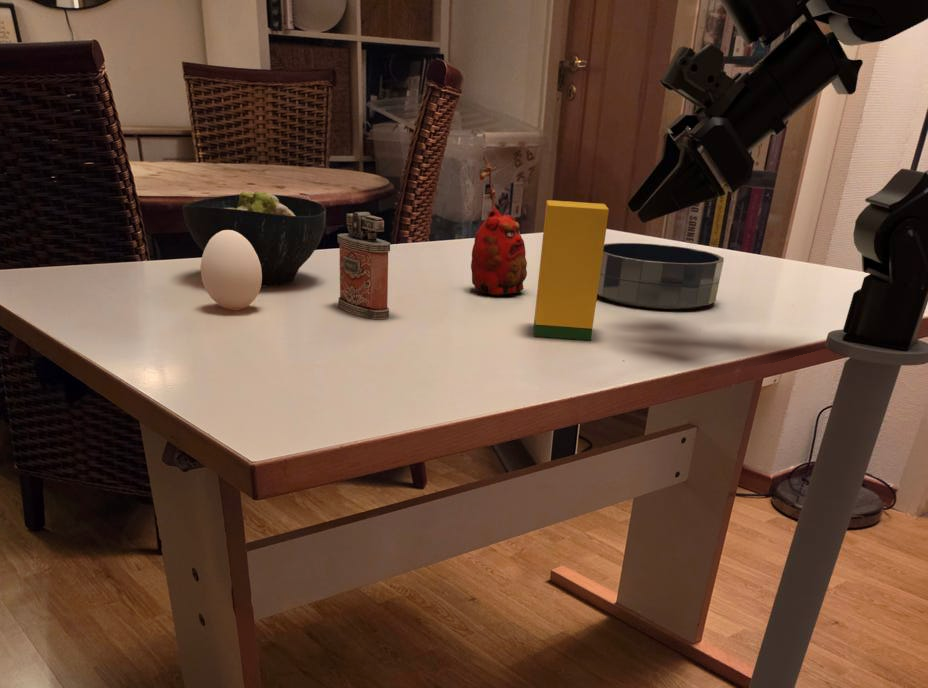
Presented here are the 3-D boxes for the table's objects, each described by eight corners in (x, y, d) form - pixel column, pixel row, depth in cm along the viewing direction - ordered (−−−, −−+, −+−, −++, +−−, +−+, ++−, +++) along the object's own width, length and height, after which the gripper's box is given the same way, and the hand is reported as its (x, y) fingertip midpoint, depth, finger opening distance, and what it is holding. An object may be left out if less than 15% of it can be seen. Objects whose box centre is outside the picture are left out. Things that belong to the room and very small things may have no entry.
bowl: (164, 285, 103) (153, 192, 98) (226, 264, 117) (219, 181, 112) (299, 299, 100) (295, 204, 95) (345, 275, 114) (344, 191, 109)
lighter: (331, 305, 99) (330, 208, 93) (356, 303, 100) (356, 207, 95) (370, 320, 93) (370, 218, 88) (396, 317, 95) (398, 217, 90)
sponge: (587, 329, 95) (605, 203, 88) (590, 340, 91) (609, 209, 84) (533, 326, 95) (546, 200, 89) (534, 336, 91) (547, 205, 84)
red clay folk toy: (507, 300, 107) (519, 162, 98) (457, 292, 109) (465, 157, 101) (532, 291, 112) (545, 160, 104) (484, 284, 115) (493, 155, 107)
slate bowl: (731, 299, 115) (741, 255, 112) (687, 318, 103) (696, 268, 100) (620, 281, 122) (626, 239, 119) (567, 296, 111) (573, 250, 108)
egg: (192, 307, 94) (184, 227, 90) (240, 300, 98) (234, 224, 94) (227, 318, 90) (221, 236, 86) (275, 311, 95) (271, 232, 90)
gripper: (707, 19, 85) (580, 140, 91) (749, 1, 69) (591, 148, 76) (767, 118, 89) (641, 227, 95) (819, 122, 73) (664, 252, 80)
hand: (634, 213), depth 86 cm, fingers open, 9 cm apart
